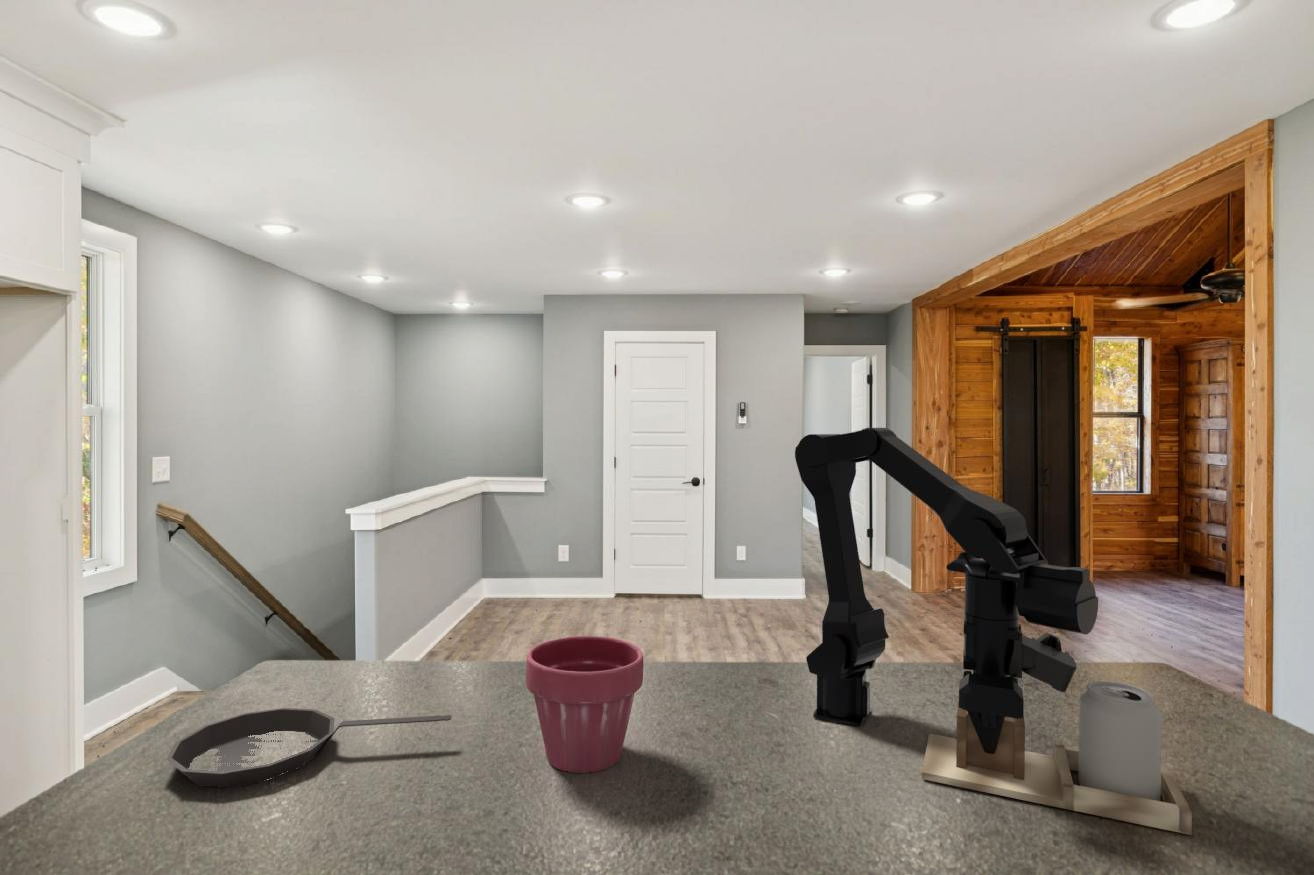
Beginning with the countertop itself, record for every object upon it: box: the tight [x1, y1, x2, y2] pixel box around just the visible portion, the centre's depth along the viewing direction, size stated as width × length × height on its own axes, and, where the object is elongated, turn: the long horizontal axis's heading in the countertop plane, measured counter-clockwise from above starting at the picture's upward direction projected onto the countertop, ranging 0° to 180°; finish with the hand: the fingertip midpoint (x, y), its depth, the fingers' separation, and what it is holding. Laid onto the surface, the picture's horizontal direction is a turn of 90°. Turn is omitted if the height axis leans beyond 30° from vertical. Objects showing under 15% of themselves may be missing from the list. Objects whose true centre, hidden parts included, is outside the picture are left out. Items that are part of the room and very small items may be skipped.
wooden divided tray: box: [921, 700, 1193, 836], centre depth 79 cm, size 25×11×7 cm, turn 65°
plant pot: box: [525, 635, 644, 774], centre depth 86 cm, size 14×14×13 cm
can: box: [1077, 680, 1163, 801], centre depth 76 cm, size 8×8×12 cm
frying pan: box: [165, 707, 453, 788], centre depth 86 cm, size 18×32×4 cm, turn 99°
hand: (989, 746), depth 82 cm, fingers closed on wooden divided tray, 3 cm apart
